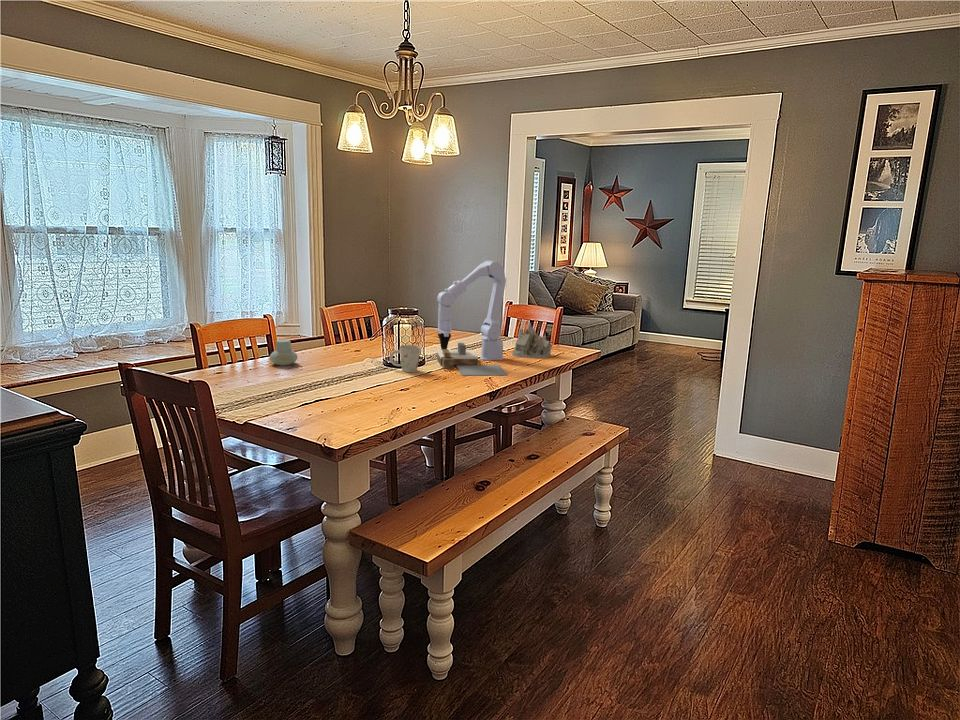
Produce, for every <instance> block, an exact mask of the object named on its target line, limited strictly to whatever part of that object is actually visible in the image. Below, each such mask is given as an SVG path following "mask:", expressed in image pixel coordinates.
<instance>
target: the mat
mask: <svg viewBox="0 0 960 720" xmlns="http://www.w3.org/2000/svg"><path fill="white" fill-rule="evenodd" d="M455 367H456V368H457V370H458V371H459V373H460V375H461V376H463V377H465V376H468V377H469V376H473V377H474V376H475V377H476V376H477V377H478V376H481V377H482V376H509V374H508V372H506V370H504V369H503V367H502V366H501V365H500V364H498V365H497V364H486V365H485V364H483V365H481V364H478V365H456V366H455Z"/></svg>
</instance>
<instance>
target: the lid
mask: <svg viewBox="0 0 960 720" xmlns="http://www.w3.org/2000/svg"><path fill="white" fill-rule="evenodd" d="M448 350H449V352H450V357H452V358H453V359H478V360H479V355H477V354H476V352H475V351H474V350H473V349H467V346H466V344H465V343H464V342H458V343H457V349H448ZM437 353H438V355H439V356H440V358H441V359H442V357H444V356H443V354H442V350H441V349H437V350H436V354H437Z"/></svg>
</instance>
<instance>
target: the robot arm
mask: <svg viewBox="0 0 960 720" xmlns="http://www.w3.org/2000/svg"><path fill="white" fill-rule="evenodd" d="M504 269H505V267H504V266H503V265H502V263H500V261H494V260H490V259H486V260H484V261H483V262H482V263H480V264H479V265H478V266H477V267H475V269H474V270H472V271H471V272H470V273H469V274H468V275H467V276H465V277H464V278H463V279H462V280H458V279H457V280H454V281H453V282H452V284H451V285H450V286H449V287H448V288H444V291H441V292H438V295H437V297H436V302H437V303H438V311H437V312H438V313H437V315H438V316H437V328H435V329H434V330H435V331H434V332H439V333H437V336H438V339H439V343H440V348H441V349H440V350H442V349H448V346H449V345H448V344H449V341H450V339H451V338H452V335H451V332H452V305H453V304H454V302H455V300H457V298H459V297H460V296H461V295H462V294H464V293H465V292H466V290H467V287H468V286H470V285H471V284H473V283H474V282H475V281H477V280H478V279H480V278H481V277H489V279H490V280H491V281H492V282H493V284H492V290H491V294H490V299H489V305H488V309H487V316H486V318H485V319H484V320H483V324H482V325H481V326H480V330H479V331H480V334H481V336H482V337H481V355H478V358H480V359H481V360H482V361H503V360H504V357H503V353H504V342H503V339H500V337H501V321H500V319H499V318H500V313H501V309H502V304H503V299H504V294H505V289H506V283H507V279H506V275H505V271H504Z"/></svg>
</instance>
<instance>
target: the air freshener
mask: <svg viewBox="0 0 960 720" xmlns="http://www.w3.org/2000/svg"><path fill="white" fill-rule="evenodd" d="M269 360H270V362H271V363H273V364H275V365H277V366H280V367H281V366H282V367H288V366H290V365H292V364H295V363H296V361H297V360H298V354H297V353H296V351H294V350H292V342H291V340H290V339H277V340H275V350H274V351H272V352H271V354H269Z"/></svg>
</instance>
